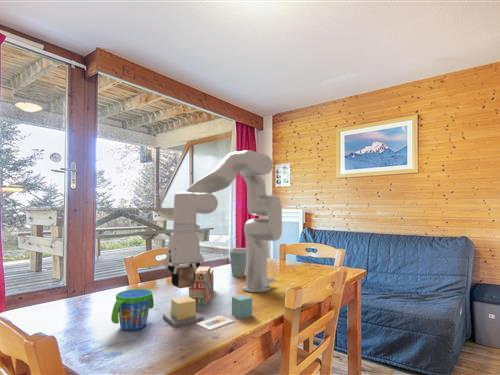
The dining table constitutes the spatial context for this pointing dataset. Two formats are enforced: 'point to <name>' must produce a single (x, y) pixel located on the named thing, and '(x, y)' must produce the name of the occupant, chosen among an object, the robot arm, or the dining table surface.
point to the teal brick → (242, 306)
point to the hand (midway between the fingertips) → (183, 283)
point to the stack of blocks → (202, 285)
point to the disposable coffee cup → (238, 261)
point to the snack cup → (132, 308)
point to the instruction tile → (214, 322)
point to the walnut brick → (185, 276)
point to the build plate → (184, 321)
